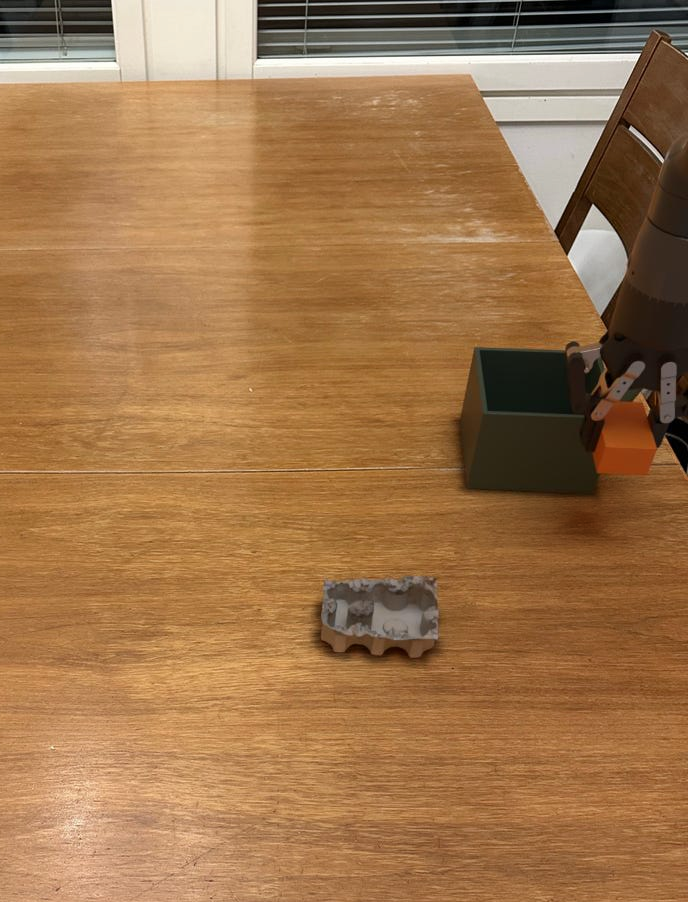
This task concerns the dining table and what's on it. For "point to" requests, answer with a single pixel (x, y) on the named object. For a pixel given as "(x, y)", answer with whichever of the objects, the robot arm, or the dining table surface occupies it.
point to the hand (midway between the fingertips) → (616, 447)
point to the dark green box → (524, 423)
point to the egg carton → (381, 614)
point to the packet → (625, 441)
